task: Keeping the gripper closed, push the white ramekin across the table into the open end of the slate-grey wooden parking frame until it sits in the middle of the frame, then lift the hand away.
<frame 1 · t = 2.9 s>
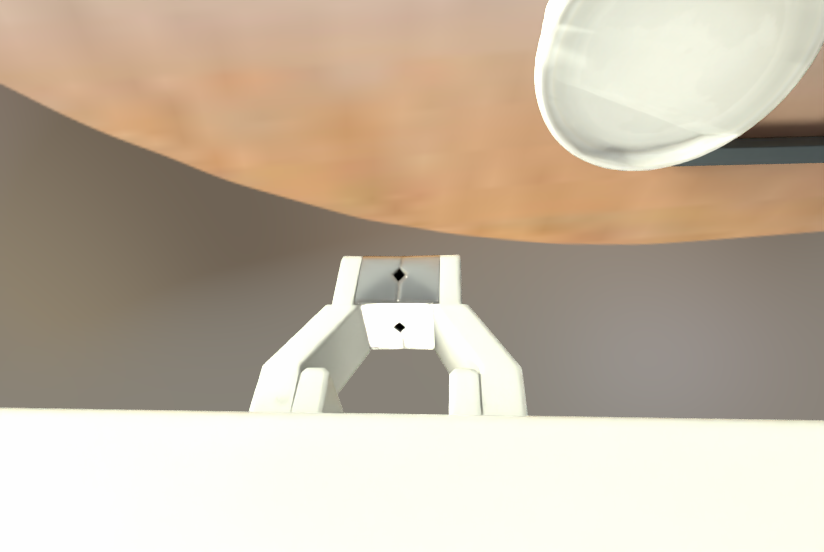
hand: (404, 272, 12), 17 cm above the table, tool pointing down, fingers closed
ramekin: (639, 12, 23), on the table
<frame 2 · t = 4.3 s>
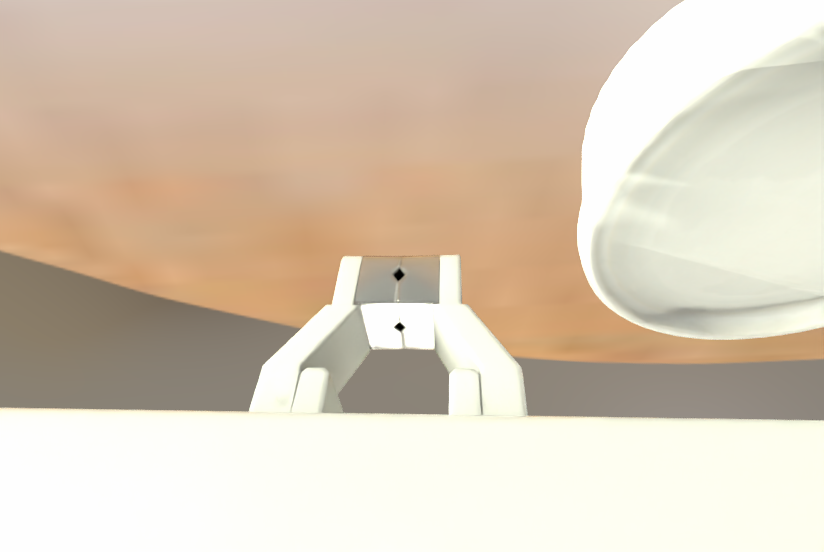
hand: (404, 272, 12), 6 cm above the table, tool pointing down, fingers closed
ramekin: (728, 110, 16), on the table
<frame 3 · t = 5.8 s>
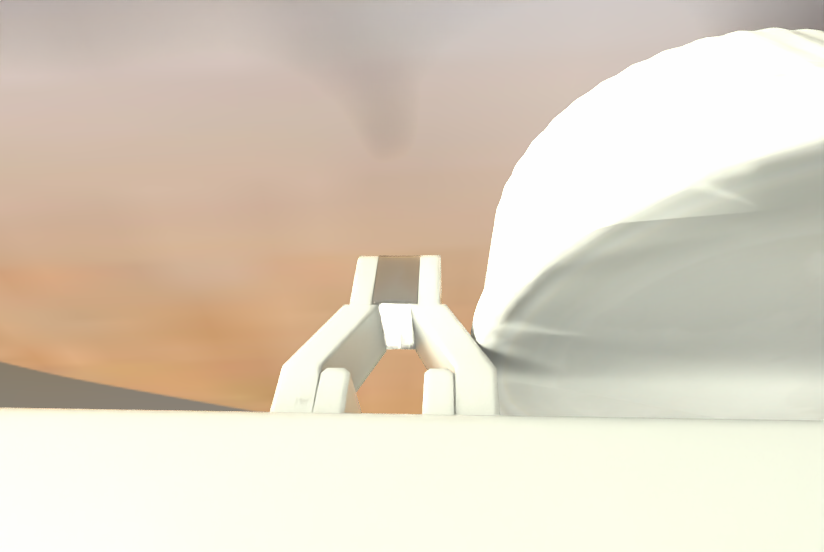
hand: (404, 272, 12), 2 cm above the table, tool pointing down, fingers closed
ramekin: (666, 199, 13), on the table, touching gripper
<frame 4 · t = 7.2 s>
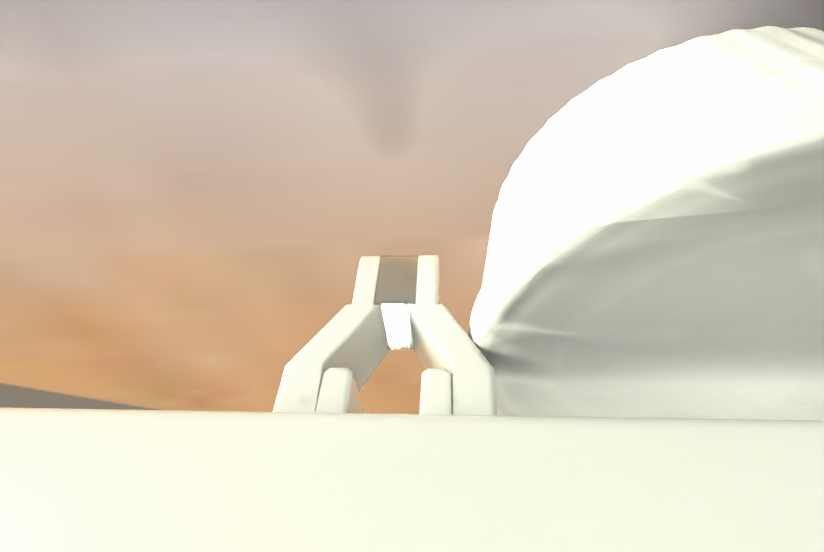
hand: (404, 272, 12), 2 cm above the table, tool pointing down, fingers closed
ramekin: (664, 198, 13), on the table, touching gripper
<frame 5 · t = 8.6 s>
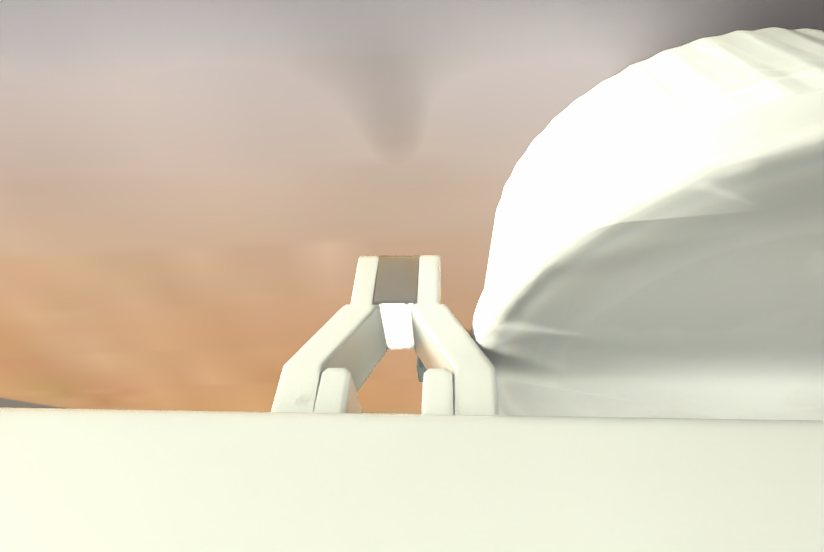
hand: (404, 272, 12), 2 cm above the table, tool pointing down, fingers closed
ramekin: (666, 199, 13), on the table, touching gripper
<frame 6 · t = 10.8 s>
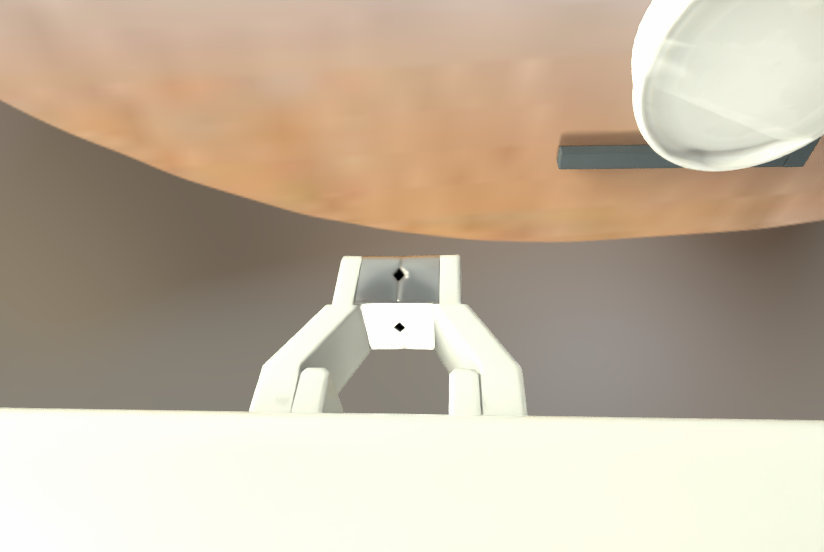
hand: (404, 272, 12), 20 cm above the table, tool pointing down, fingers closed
ramekin: (720, 30, 26), on the table
bay: (712, 28, 26), on the table
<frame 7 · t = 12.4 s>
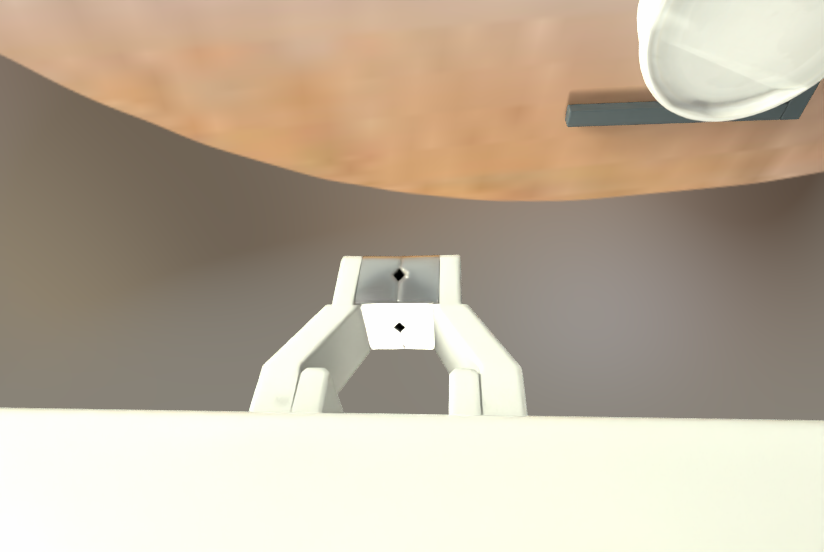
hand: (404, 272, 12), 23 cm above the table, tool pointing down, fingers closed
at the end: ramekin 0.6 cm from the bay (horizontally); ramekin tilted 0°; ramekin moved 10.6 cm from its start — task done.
